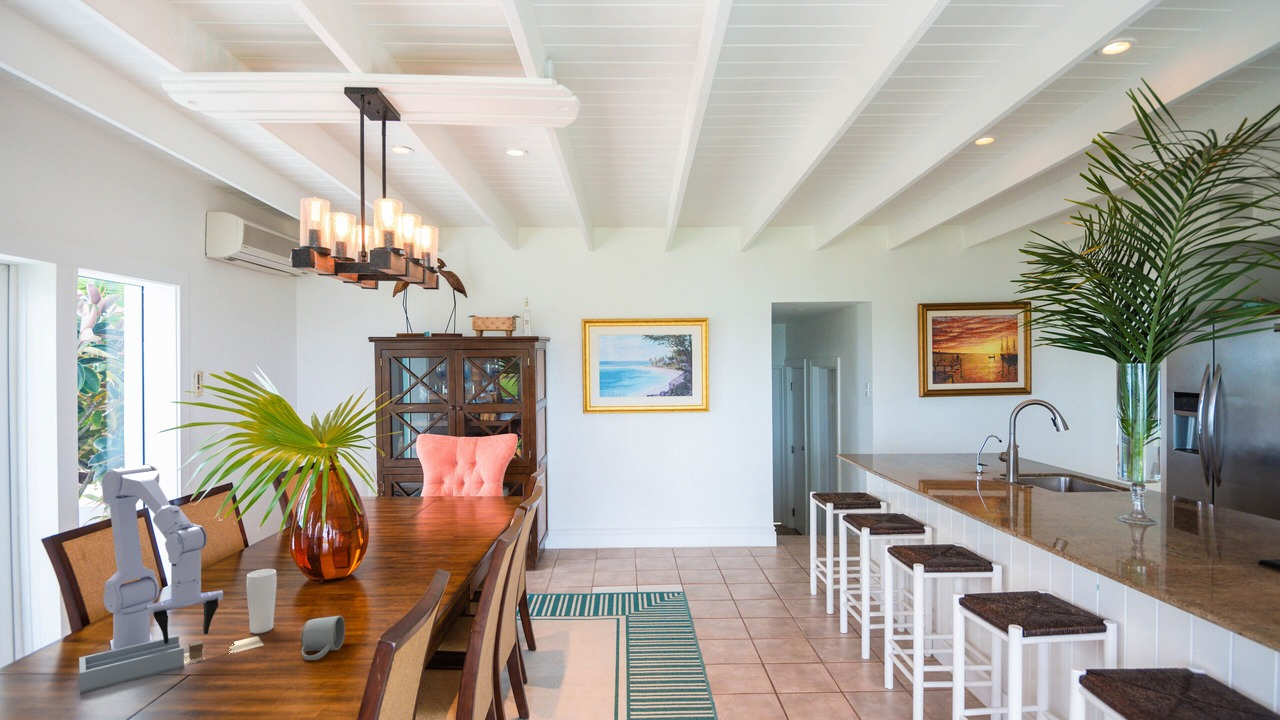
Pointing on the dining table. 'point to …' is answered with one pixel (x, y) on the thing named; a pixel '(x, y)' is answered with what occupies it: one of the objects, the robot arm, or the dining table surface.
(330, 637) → the ceramic mug
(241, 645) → the cover plate
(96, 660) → the box
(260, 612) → the drinking glass
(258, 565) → the dining table surface
